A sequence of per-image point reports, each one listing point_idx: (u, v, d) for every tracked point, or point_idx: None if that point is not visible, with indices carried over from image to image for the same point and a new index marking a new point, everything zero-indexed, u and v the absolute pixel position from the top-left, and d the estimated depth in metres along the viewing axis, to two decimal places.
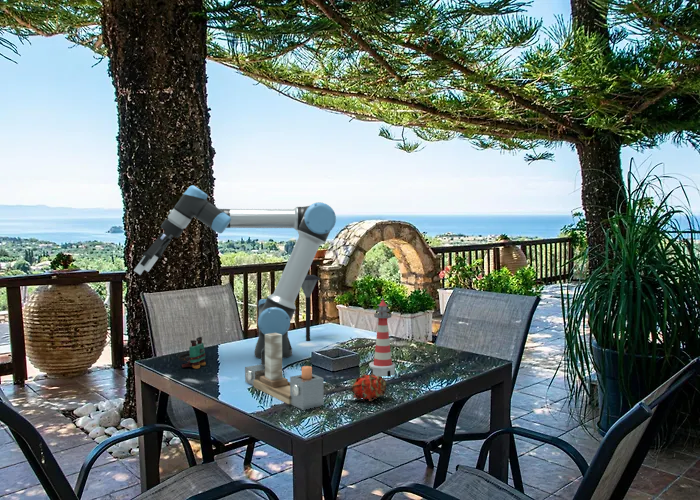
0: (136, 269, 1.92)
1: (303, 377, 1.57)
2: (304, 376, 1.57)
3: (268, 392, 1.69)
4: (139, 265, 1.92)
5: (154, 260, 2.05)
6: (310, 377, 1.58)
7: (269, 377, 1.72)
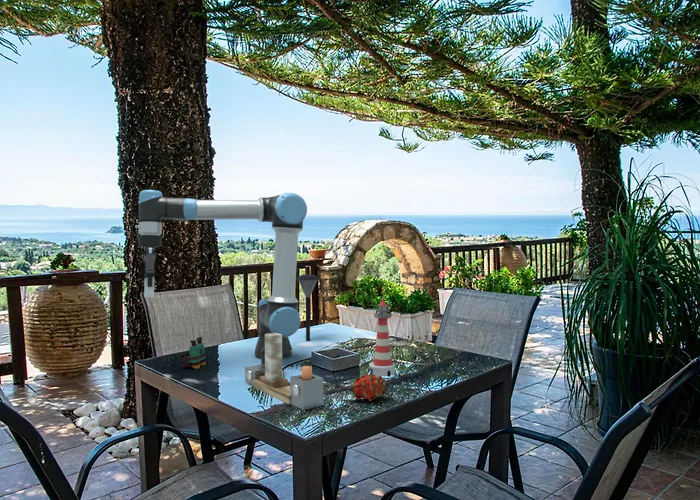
0: (147, 294, 1.80)
1: (303, 377, 1.57)
2: (304, 376, 1.57)
3: (268, 392, 1.69)
4: (147, 289, 1.80)
5: None
6: (310, 377, 1.58)
7: (269, 377, 1.72)
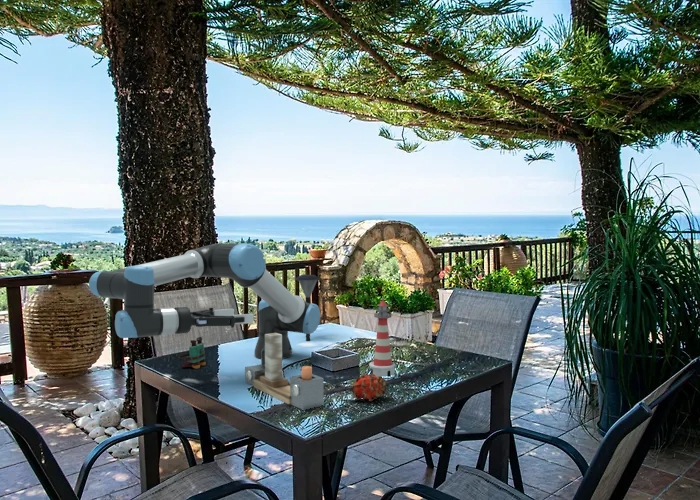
0: (250, 321, 1.62)
1: (303, 377, 1.57)
2: (304, 376, 1.57)
3: (268, 392, 1.69)
4: (245, 321, 1.60)
5: (219, 311, 1.70)
6: (310, 377, 1.58)
7: (269, 377, 1.72)
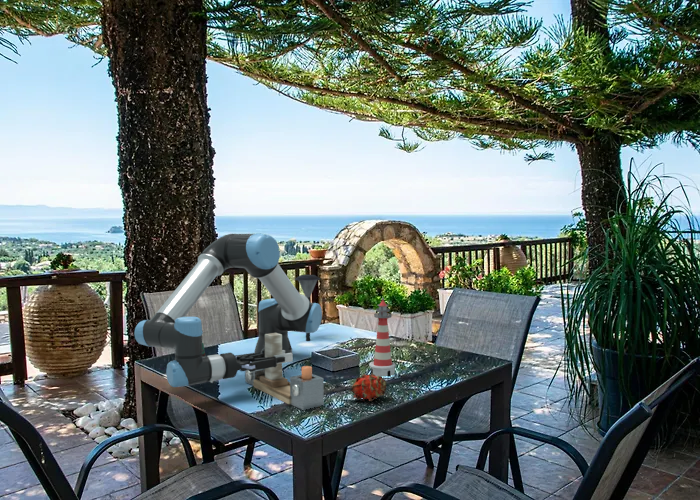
0: (290, 359, 1.75)
1: (303, 377, 1.57)
2: (304, 376, 1.57)
3: (268, 392, 1.69)
4: (285, 360, 1.73)
5: None
6: (310, 377, 1.58)
7: (269, 377, 1.72)
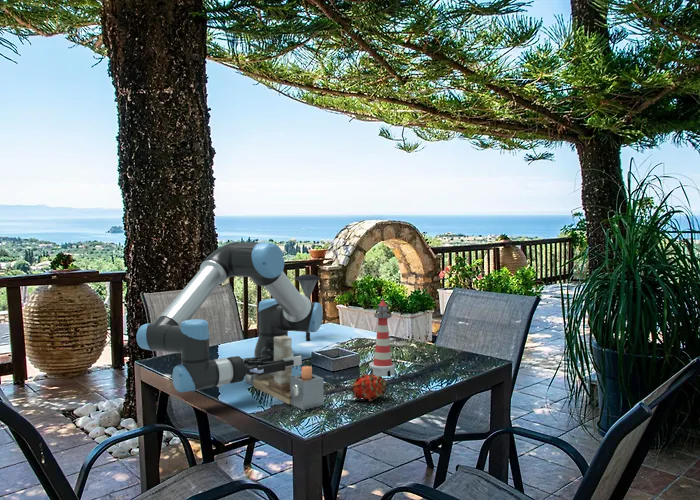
0: (299, 363, 1.70)
1: (303, 377, 1.57)
2: (304, 376, 1.57)
3: (268, 392, 1.69)
4: (294, 364, 1.69)
5: None
6: (310, 377, 1.58)
7: (278, 381, 1.68)
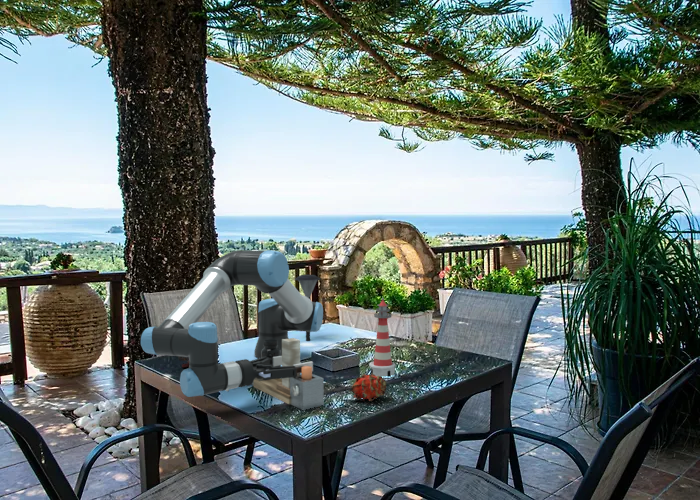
0: None
1: (303, 377, 1.57)
2: (304, 376, 1.57)
3: (268, 392, 1.69)
4: None
5: (278, 358, 1.69)
6: (310, 377, 1.58)
7: (286, 385, 1.64)
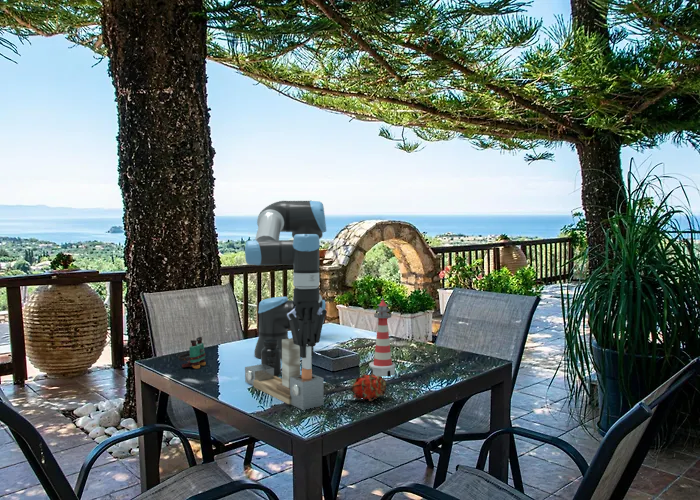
0: None
1: (303, 379, 1.57)
2: (304, 377, 1.57)
3: (268, 392, 1.69)
4: None
5: None
6: None
7: (286, 385, 1.64)
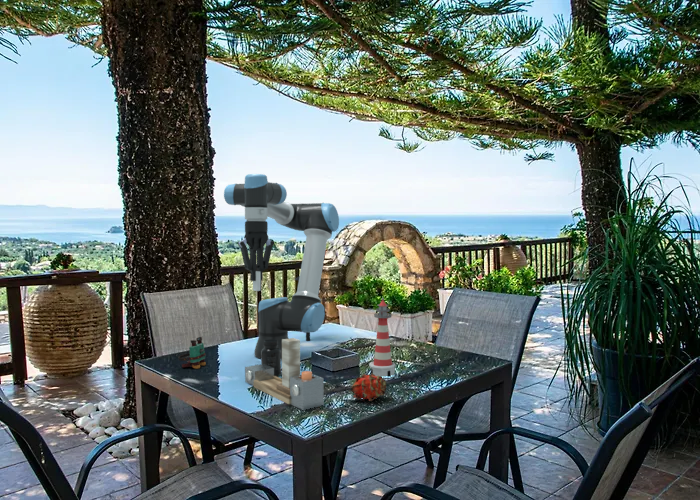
0: None
1: None
2: None
3: (268, 392, 1.69)
4: None
5: None
6: None
7: (286, 385, 1.64)
